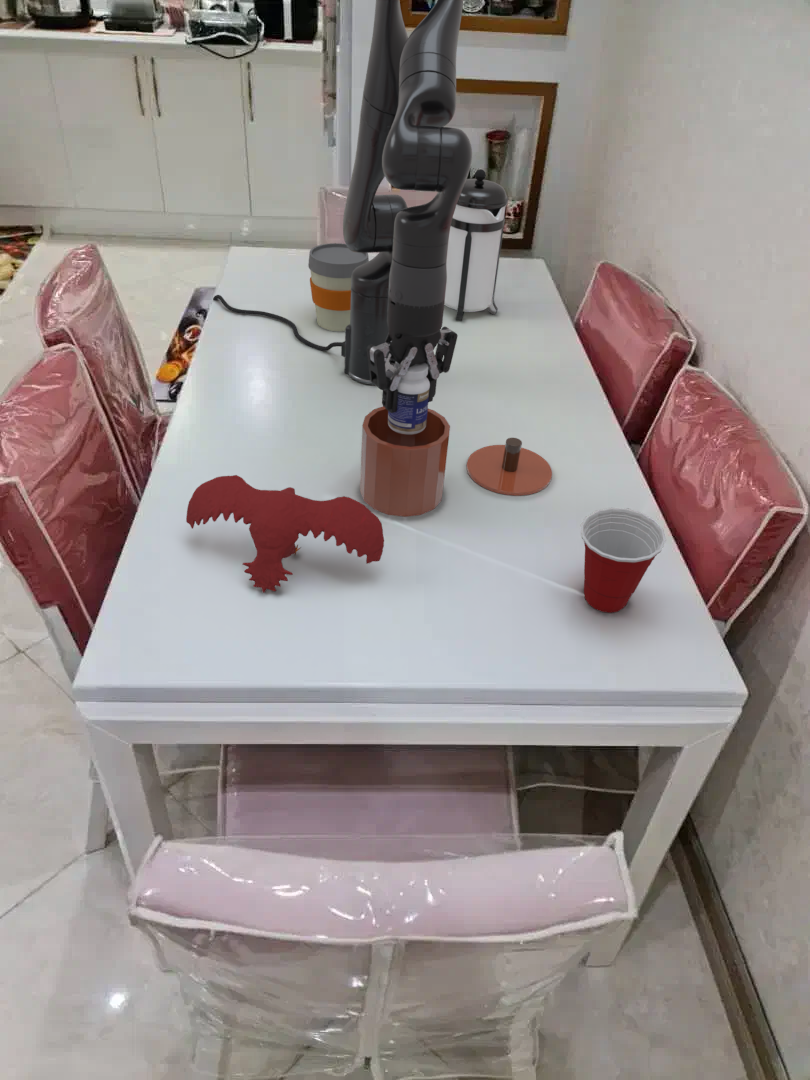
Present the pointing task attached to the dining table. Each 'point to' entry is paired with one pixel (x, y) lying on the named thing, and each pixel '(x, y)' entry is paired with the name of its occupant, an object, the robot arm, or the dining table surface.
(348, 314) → the reusable coffee cup
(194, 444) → the dining table surface
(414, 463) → the pot
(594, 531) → the plastic cup
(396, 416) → the pill bottle
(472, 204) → the coffee press
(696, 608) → the dining table surface
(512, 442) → the lid
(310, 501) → the decorative bird sculpture
